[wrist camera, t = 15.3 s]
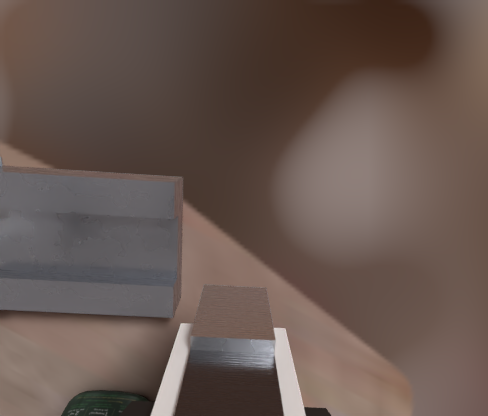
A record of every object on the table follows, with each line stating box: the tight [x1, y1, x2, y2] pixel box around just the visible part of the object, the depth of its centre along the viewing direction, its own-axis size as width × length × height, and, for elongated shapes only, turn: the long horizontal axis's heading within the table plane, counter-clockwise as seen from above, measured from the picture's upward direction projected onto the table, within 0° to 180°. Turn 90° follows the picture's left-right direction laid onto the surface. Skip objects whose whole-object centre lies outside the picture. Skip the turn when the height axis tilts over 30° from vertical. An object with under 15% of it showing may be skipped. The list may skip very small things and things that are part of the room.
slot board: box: [0, 166, 183, 318], centre depth 25 cm, size 16×12×4 cm
